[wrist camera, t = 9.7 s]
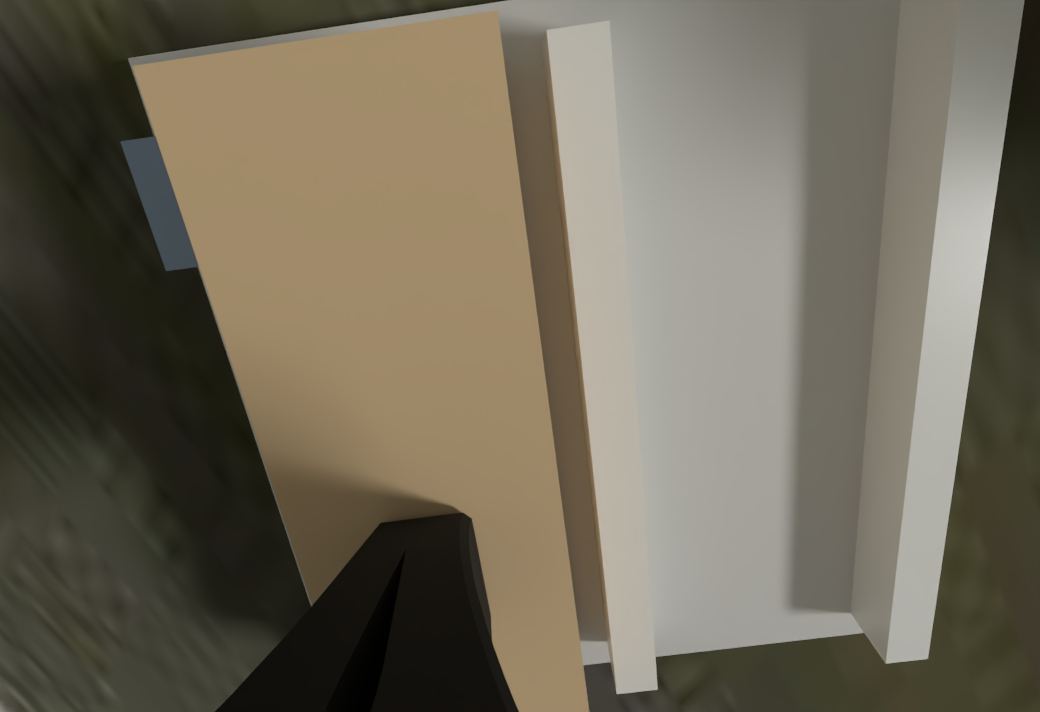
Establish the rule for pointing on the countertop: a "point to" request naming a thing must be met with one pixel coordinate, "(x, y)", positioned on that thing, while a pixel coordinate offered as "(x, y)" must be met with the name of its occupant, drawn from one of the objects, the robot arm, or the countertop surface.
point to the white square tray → (741, 300)
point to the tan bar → (383, 305)
